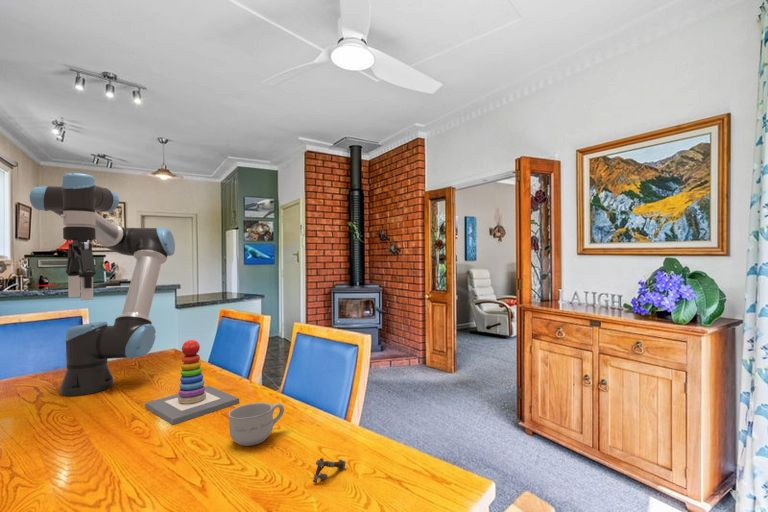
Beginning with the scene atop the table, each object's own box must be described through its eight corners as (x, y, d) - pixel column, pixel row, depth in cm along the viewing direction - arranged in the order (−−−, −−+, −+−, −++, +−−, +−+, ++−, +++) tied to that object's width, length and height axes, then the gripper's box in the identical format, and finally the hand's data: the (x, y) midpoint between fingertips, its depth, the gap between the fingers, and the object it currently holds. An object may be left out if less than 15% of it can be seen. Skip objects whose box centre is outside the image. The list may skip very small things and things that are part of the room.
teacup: (231, 455, 90) (230, 421, 90) (226, 436, 100) (226, 405, 100) (290, 441, 97) (290, 409, 97) (280, 424, 106) (280, 395, 106)
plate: (145, 407, 120) (145, 402, 120) (208, 389, 135) (208, 384, 135) (172, 424, 107) (172, 418, 107) (239, 403, 123) (239, 397, 123)
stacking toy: (211, 395, 125) (210, 337, 125) (196, 405, 117) (195, 343, 117) (188, 395, 126) (187, 337, 125) (172, 404, 118) (171, 343, 118)
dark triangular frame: (307, 480, 78) (314, 456, 80) (334, 480, 84) (340, 458, 85) (313, 484, 77) (320, 459, 79) (340, 483, 83) (346, 460, 84)
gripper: (53, 228, 119) (54, 297, 119) (75, 223, 103) (76, 302, 103) (83, 229, 125) (84, 295, 125) (108, 224, 109) (109, 299, 109)
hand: (80, 298), depth 114 cm, fingers open, 13 cm apart
